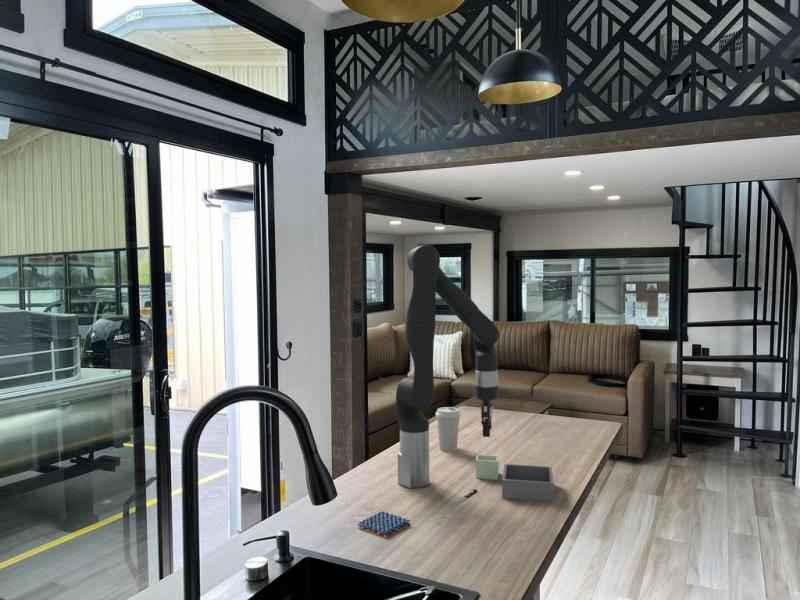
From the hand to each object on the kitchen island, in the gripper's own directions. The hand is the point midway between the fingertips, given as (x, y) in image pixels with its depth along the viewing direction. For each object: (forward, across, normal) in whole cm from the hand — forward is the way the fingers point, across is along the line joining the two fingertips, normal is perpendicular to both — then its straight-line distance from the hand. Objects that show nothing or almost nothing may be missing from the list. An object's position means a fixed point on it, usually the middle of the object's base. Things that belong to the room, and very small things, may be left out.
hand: (487, 432), depth 189 cm
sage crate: (+14, 0, 0) cm, 14 cm away
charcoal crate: (+14, +12, +13) cm, 22 cm away
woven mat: (+14, +44, -24) cm, 52 cm away
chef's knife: (+14, +23, -7) cm, 28 cm away
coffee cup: (+14, -26, -16) cm, 34 cm away
